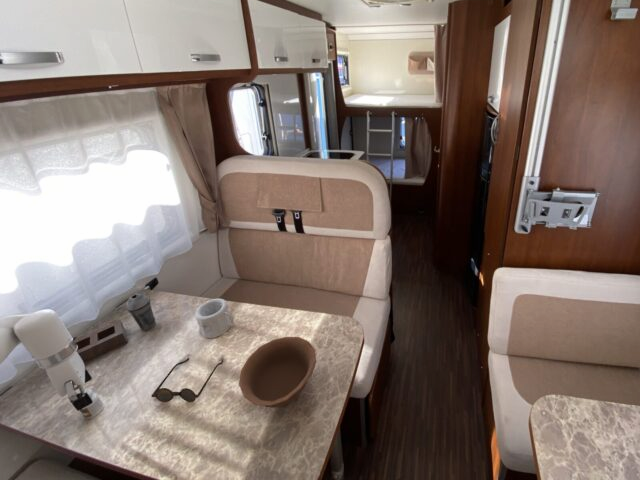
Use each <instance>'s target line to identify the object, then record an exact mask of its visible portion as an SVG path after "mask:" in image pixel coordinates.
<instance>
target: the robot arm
mask: <svg viewBox="0 0 640 480" xmlns="http://www.w3.org/2000/svg"><path fill="white" fill-rule="evenodd" d="M74 340H75V339H74V338H73V336H72V335H71V332H69V330H68V328H67V327H66V325H65V324H64V322H63V320H62V319H61V317H60V315H58V313H57V311H55V310H53V309H51V308H47V309H46V308H45V309H39V310H37V311H34V312H31V313H24V314H13V315H11V314H10V315H4V316H2V317H0V365H1V364H2V363H3V362H4V361H5V360H6V359H7V358H8V357H9V355H11V353H12V352H13V351H14V350H15V349H16V347H17V346H19V345H20V344H22V345H23V346H24V348H25V350H26V351H27V353H28V354H29V355H30V356H31V357H32V359H33V360H34V362H35V363H36V365H37V366H38V367H39V368H40V369H42V370H45V373H46V374H47V376H48V378H49V380H50V382H51V384H52V385H53V387H54V390H56V392H57V394H58V395H59V397H61V398H64V397H65V396H67V399H68V400H69V402H70V403H71V404H72V406H73V408H74V409H75V410H76V411H79V412H80V410H81V409H83V408H84V407H86V406H88V405H90V404H92V399H91V398H90V396H89V395H88V393H87V392H86V393H85V392H84V390H85V389H84V385H85V384H86V383H88V382H91V381H92V379H93V378H92V375H91V374H90V372H89V371H88V370H87V369H86V365H85V364H84V363H83V361H82V359H81V357H80V356H79V354H78V353H77V352H76V351H77V349H78V346H77V344H76V342H75V341H74ZM75 386H76V387H75ZM77 390H79V392H78V393H77V392H76V391H77Z"/></svg>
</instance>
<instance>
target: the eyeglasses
mask: <svg viewBox="0 0 640 480" xmlns="http://www.w3.org/2000/svg"><path fill="white" fill-rule="evenodd" d="M189 360H190V357H187V358H186V359H185V360H183V361H180V362H177V363H176V364H175V365H174V366H172V368H171V370H170V371H168V373H167V375H165V377H164V378H163V379H162V381H161V382H160V383H159V385H158V386H157V387H156V389H155V390H154V391H153V393H152V394H151V398H156V400H157V401H159V402H161V403H169V402H171V401H172V400H173V399H174V397H180V398H181V399H182V401H185V402H187V403H194V402H195V401H196V399H198V398H199V397H200V396H201V394H202V393H203V391H204V390H205V388H206V386H207V384H208V383H209V381H210V380H211V377H212V376H213V375H214V372H215V371H216V369H217V368H218V367H219V366H221V365H222V364H223V363H224V358H221V362H218V363H217V364H216V365H215V366H214V368H213V369H212V371H211V373H210V374H209V376H208V378H206V380H205V382H204V384H203V385H202V387H201V388H200V390H199V392H197V394H196V393H195V392H194V391H193V389H191V388H188V387H185V388H182V389H181V390H180V391H172V389H170V388H168V387H162V386H163V385H164V384H165V382H166V381H167V379H168V378H169V376H170V375H171V374H172V372H173V371H174V370H175V369H176V367H178V366H180V365H183V364H186V362H188V361H189Z"/></svg>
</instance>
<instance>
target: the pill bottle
mask: <svg viewBox="0 0 640 480" xmlns="http://www.w3.org/2000/svg"><path fill="white" fill-rule="evenodd" d="M84 392H85V393H86V392H87V393H88V395H89V396H90V398H91V399H92V404H90V405H88V406H86V407H84V408H83V409H81V410H79V412H80V413H81V415H82V416H83V417H84V419H86V420H89V419H90V420H91V419H93V418H95V417H97V416H98V415H99V414H101V412H102V411H103V410H104V408H105V406H104V403H103V401H102V400H101V398H100V397H99V395H98V393H96V392H94V391H93V390H92V389H91V388H86V389H84Z"/></svg>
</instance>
